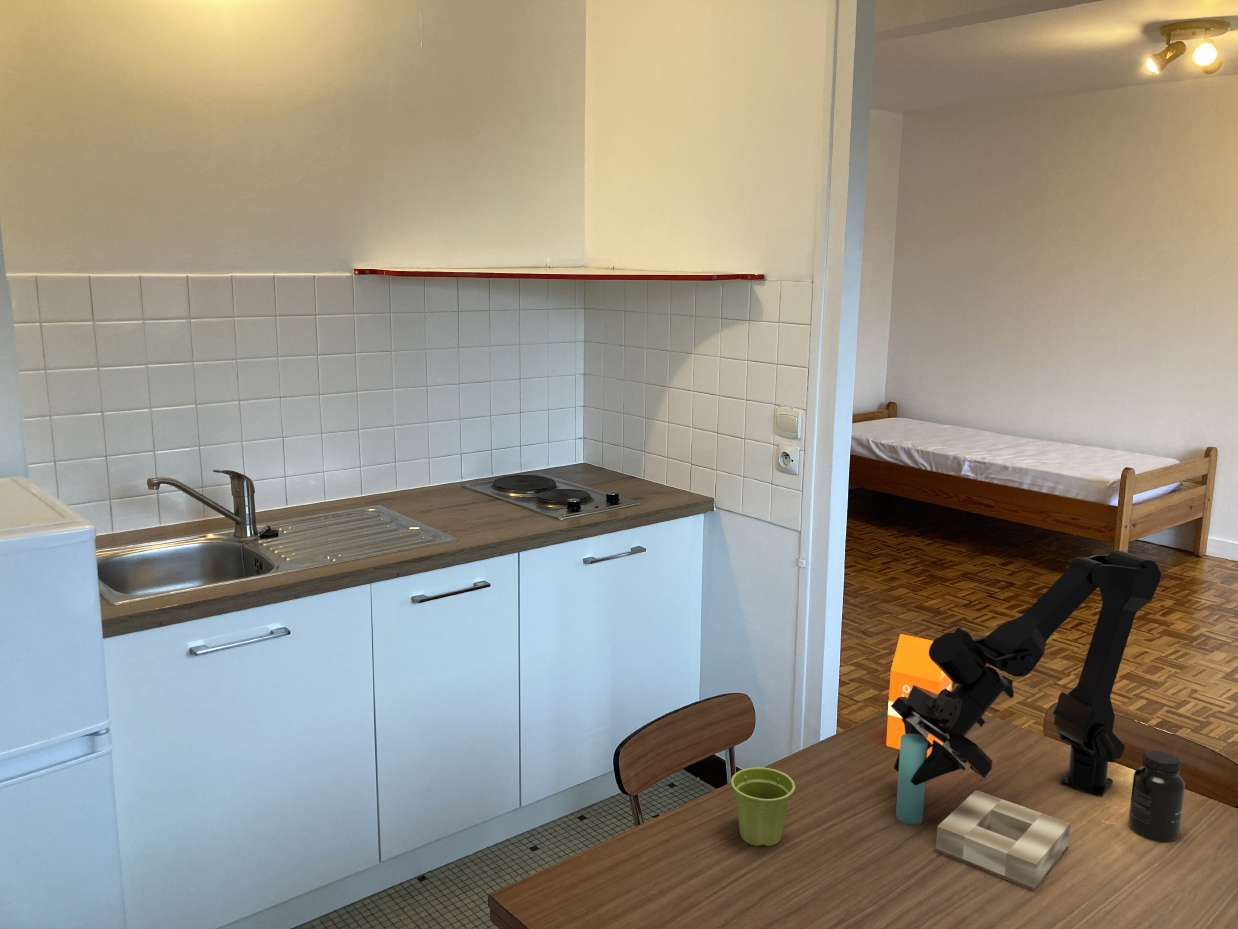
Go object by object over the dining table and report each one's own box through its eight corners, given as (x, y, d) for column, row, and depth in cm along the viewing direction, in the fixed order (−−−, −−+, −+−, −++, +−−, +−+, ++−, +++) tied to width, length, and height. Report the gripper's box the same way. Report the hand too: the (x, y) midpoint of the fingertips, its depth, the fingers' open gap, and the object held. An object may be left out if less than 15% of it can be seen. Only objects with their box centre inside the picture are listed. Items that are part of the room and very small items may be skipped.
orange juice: (900, 730, 180) (907, 627, 176) (948, 743, 175) (956, 638, 171) (885, 746, 174) (891, 640, 170) (934, 760, 169) (942, 651, 165)
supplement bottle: (1186, 845, 143) (1195, 770, 141) (1136, 840, 144) (1144, 765, 142) (1169, 820, 150) (1178, 748, 148) (1122, 815, 151) (1130, 744, 149)
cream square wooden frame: (974, 813, 151) (976, 790, 151) (1067, 848, 142) (1070, 823, 141) (935, 851, 141) (937, 826, 140) (1033, 891, 132) (1036, 864, 131)
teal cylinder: (902, 808, 153) (907, 731, 151) (927, 817, 150) (932, 739, 148) (891, 818, 150) (896, 739, 148) (915, 827, 147) (920, 748, 145)
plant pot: (805, 835, 145) (807, 782, 143) (769, 862, 138) (771, 806, 137) (753, 812, 151) (755, 761, 150) (716, 837, 145) (718, 783, 143)
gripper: (904, 648, 156) (841, 721, 154) (981, 693, 138) (910, 776, 137) (942, 688, 160) (881, 760, 158) (1022, 737, 142) (953, 818, 141)
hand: (904, 776), depth 148 cm, fingers closed on teal cylinder, 4 cm apart
